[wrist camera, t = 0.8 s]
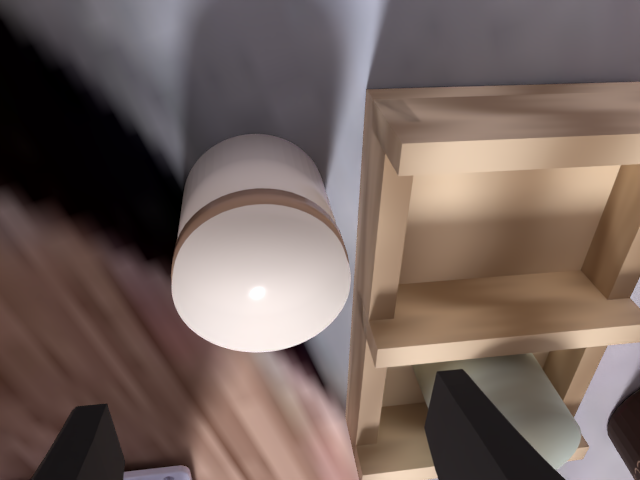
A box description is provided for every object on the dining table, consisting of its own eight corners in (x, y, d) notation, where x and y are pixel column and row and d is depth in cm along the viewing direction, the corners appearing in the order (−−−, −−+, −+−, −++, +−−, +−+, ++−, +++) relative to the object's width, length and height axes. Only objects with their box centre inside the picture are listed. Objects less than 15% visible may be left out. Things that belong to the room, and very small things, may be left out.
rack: (343, 407, 28) (370, 532, 22) (366, 89, 18) (424, 178, 13) (538, 385, 29) (607, 498, 24) (656, 81, 19) (816, 157, 14)
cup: (191, 257, 21) (182, 360, 16) (173, 132, 18) (156, 218, 13) (322, 248, 22) (347, 345, 17) (326, 127, 19) (358, 206, 14)
